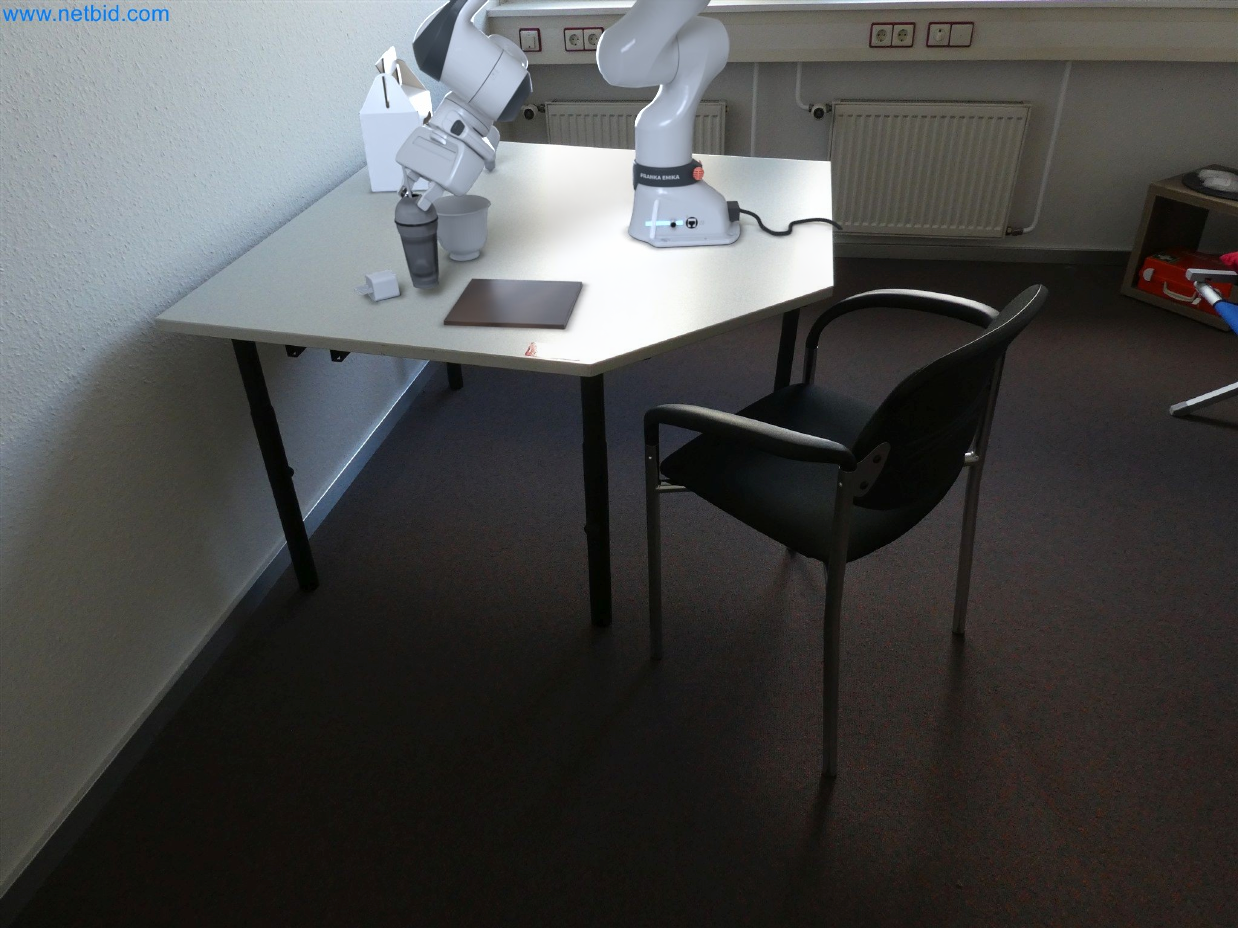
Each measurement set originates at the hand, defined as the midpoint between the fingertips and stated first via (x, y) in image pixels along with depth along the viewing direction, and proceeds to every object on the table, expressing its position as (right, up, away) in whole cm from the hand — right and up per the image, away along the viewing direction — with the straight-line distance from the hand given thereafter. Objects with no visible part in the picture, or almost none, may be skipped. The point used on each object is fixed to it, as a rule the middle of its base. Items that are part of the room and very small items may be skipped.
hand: (410, 202), depth 148 cm
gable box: (-17, +26, +70) cm, 77 cm away
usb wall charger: (-8, -14, +10) cm, 19 cm away
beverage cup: (+1, -12, +9) cm, 15 cm away
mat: (+17, -16, +6) cm, 24 cm away
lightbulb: (+3, +29, +74) cm, 79 cm away
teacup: (+3, -3, +25) cm, 26 cm away
